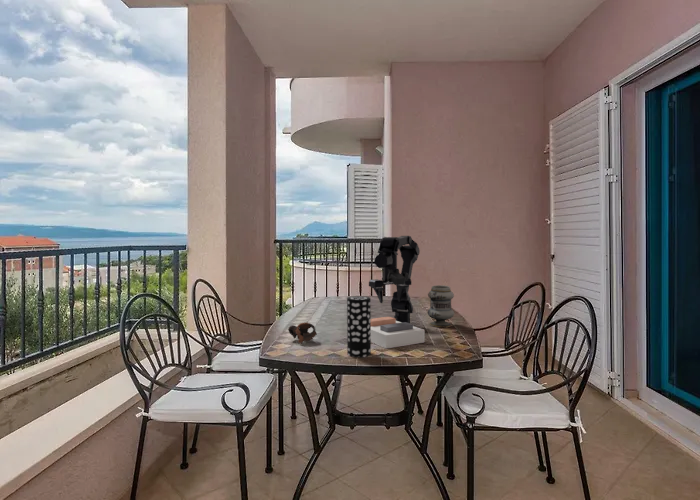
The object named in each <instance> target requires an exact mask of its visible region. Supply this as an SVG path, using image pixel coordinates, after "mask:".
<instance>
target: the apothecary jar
mask: <svg viewBox="0 0 700 500" xmlns="http://www.w3.org/2000/svg"><path fill="white" fill-rule="evenodd" d="M427 296H428V299H430V307H429V309H427V316H429V318H431V319H432V320H433V321H432V322H430V323H429V325H430V326H432V327H436V328H449V327H452V324H451V323H450V322H448V321H447V320H450V319H451V318H453V317H454V315H455V311H454V310H453V309H452V300H453V298H454V297H455V293H454V292H453V291H452V289H451V286H449V285H443V284H441V285H433V286H431V289H430V290H429V291H428V292H427Z"/></svg>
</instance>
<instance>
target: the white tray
mask: <svg viewBox="0 0 700 500" xmlns="http://www.w3.org/2000/svg"><path fill="white" fill-rule="evenodd" d="M396 323H402V322H399V321H396ZM374 343H375V344H374ZM422 343H425V329H423V328H420V327H417V326H414V325H413V329H410V330H402V331H395V332H388V333H387V332H384V331H381V330H380V325H379V326H371V344H374V345H377V346H379V347H382V348H384V349H391V348H392V349H393V348H398V347H403V346H404V347H405V346H410V345H415V344H422Z"/></svg>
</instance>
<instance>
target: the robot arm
mask: <svg viewBox="0 0 700 500" xmlns="http://www.w3.org/2000/svg"><path fill="white" fill-rule="evenodd" d="M398 251H399V252H400V257H401V259H402V266H401V272H400V268H398V256H399V253H398ZM420 251H421V250H420V247H419V245H418V243H417V242H416V241H415V240H414V239H413V238H412V236H410V235H400V236H397V237H396V236H384V237H382V239H381V241H380V243H379V247H378V250H377V253H378V254H377V255H376V256H375V257H374V265H375V266H376V267H377V268H379V269H381V271H382V272H383V277H382V278H381V279H370V280H369V281H368V287H370V288H371V289H373V290H374V292H375V294H376V297H377V298H378V300H379V303H380V304H383V301H384V297H383V295H384V293H383V291H384V289H385V288H384V286H388V285H390V286H391V285H395V286H396V291H393V293H392V294H393V295H392V299H391V301H390V306H391V311H392V313H394V317H393V318H395V319H396V321H399V322H402V323H403V322H407V323H410V324H411V314H413V312H414V306H413V304H412V300H411V296H410V294H409V289H410V286H411V285H412V279H411V277H412V273H413V266H414V264H415V263H416V262H417V260H418V258H419V255H420Z"/></svg>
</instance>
